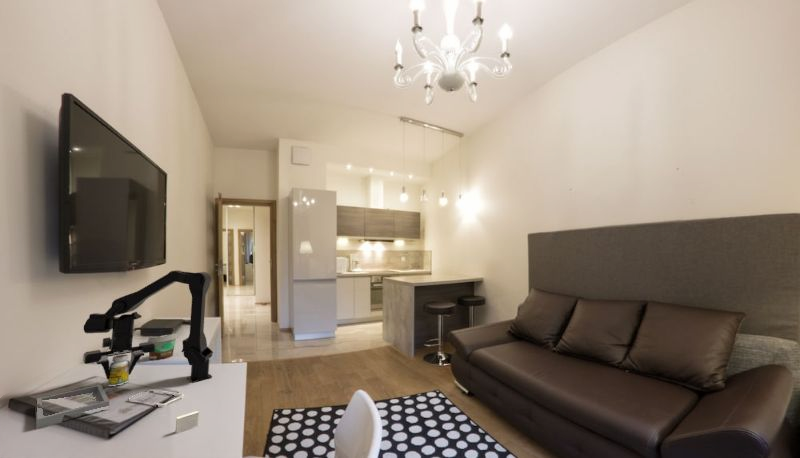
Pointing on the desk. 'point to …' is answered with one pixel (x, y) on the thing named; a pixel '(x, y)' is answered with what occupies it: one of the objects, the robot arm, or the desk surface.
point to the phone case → (169, 401)
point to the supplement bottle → (119, 370)
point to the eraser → (187, 421)
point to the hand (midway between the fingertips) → (118, 376)
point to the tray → (57, 417)
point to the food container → (162, 346)
